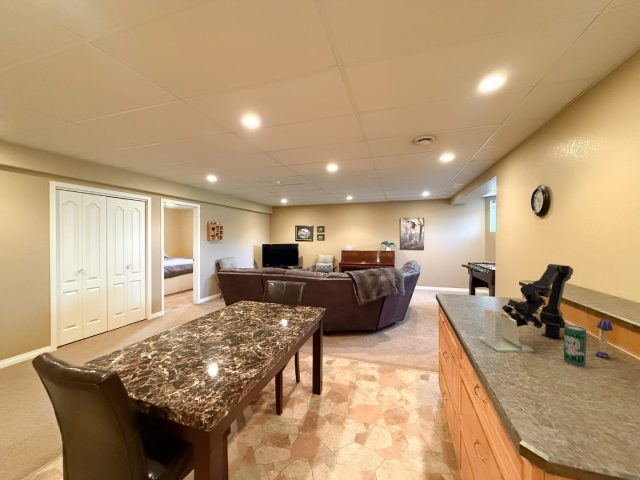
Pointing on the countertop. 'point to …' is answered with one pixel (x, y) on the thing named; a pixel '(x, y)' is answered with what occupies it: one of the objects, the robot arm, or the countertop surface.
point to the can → (575, 345)
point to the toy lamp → (604, 337)
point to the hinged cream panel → (510, 330)
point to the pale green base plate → (507, 346)
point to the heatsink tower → (493, 327)
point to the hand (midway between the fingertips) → (508, 328)
